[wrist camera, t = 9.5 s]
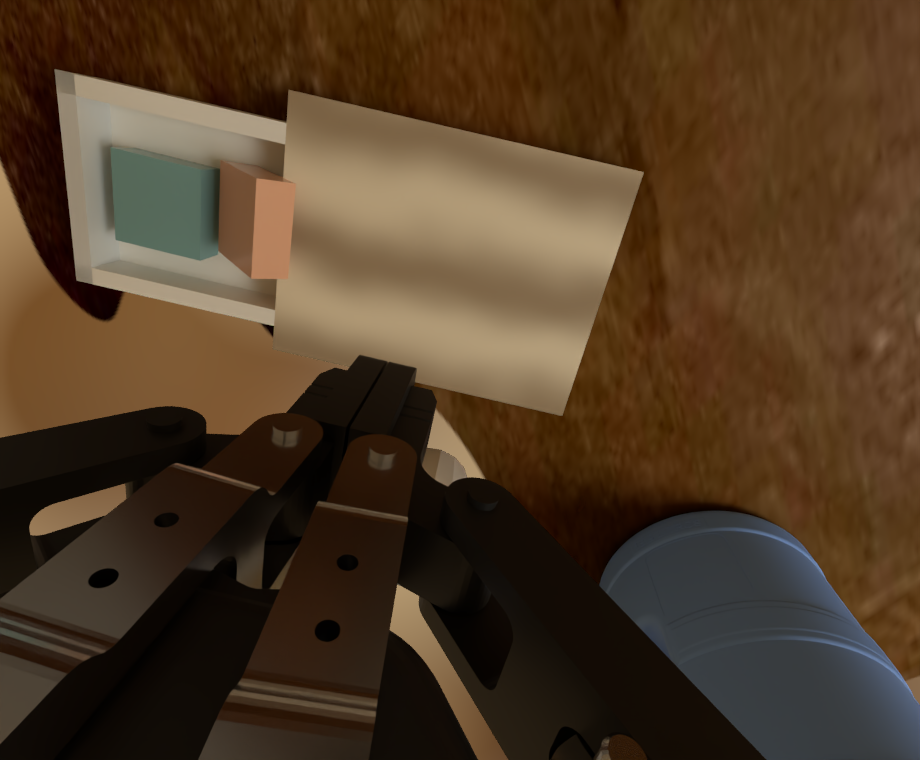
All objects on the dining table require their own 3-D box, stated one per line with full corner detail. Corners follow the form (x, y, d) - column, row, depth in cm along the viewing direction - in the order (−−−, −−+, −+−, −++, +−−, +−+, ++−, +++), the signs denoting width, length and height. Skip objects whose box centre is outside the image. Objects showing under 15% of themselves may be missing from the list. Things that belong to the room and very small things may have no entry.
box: (98, 77, 28) (54, 69, 26) (307, 126, 28) (286, 123, 26) (112, 270, 33) (76, 280, 30) (293, 312, 33) (274, 326, 30)
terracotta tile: (257, 165, 29) (220, 160, 28) (295, 183, 26) (256, 178, 25) (252, 252, 31) (218, 250, 30) (288, 278, 28) (251, 278, 27)
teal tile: (201, 169, 27) (220, 168, 29) (110, 147, 27) (135, 147, 29) (200, 260, 29) (218, 254, 31) (115, 240, 29) (138, 235, 31)
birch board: (310, 96, 28) (288, 89, 25) (630, 170, 28) (643, 172, 25) (291, 333, 34) (272, 349, 31) (557, 394, 34) (562, 415, 31)
